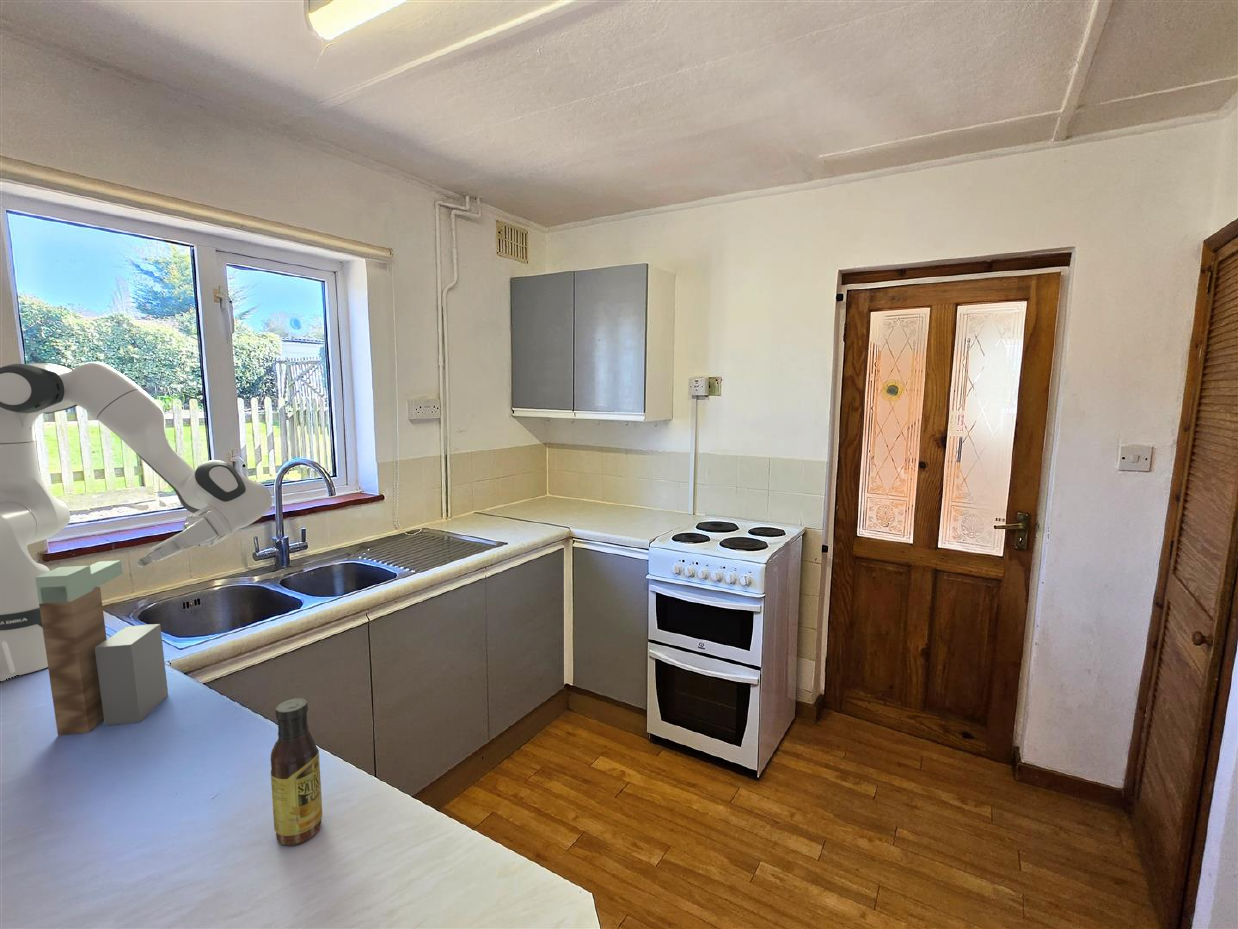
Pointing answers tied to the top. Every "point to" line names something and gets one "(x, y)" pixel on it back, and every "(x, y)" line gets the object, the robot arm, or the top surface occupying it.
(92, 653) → the walnut stand
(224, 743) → the top surface
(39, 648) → the robot arm
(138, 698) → the gray block
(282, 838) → the sauce bottle
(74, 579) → the green handle
